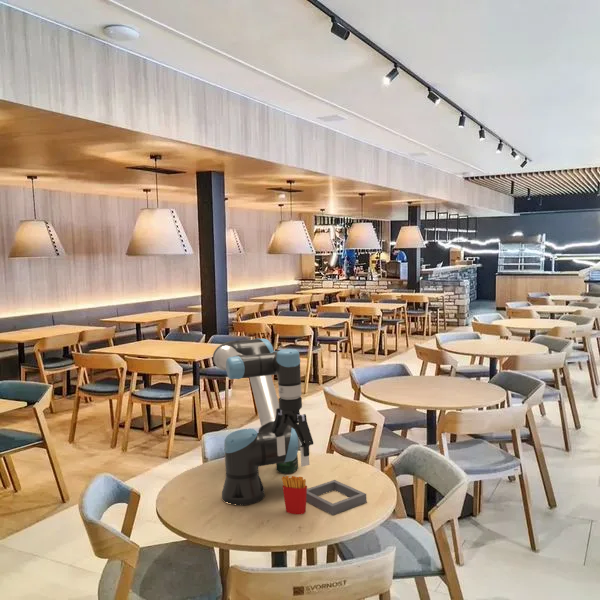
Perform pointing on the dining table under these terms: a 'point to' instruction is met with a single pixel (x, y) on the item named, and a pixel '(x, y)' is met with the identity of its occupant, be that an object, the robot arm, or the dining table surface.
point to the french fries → (294, 494)
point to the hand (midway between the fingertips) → (293, 460)
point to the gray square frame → (334, 508)
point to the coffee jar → (288, 465)
